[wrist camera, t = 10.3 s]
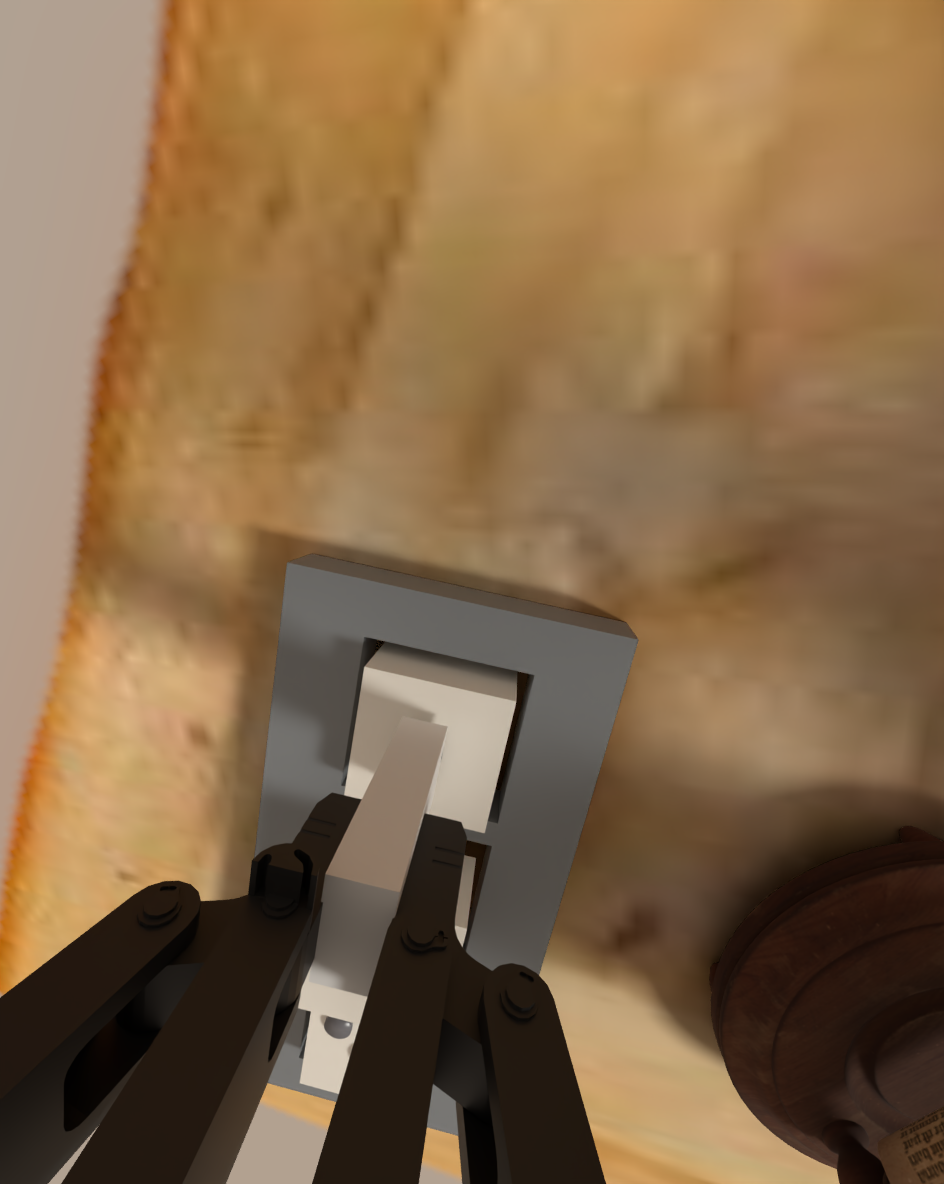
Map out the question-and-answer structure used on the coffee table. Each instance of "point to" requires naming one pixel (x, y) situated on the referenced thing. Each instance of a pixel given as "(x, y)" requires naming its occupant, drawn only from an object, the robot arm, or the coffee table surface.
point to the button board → (535, 764)
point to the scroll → (845, 1012)
